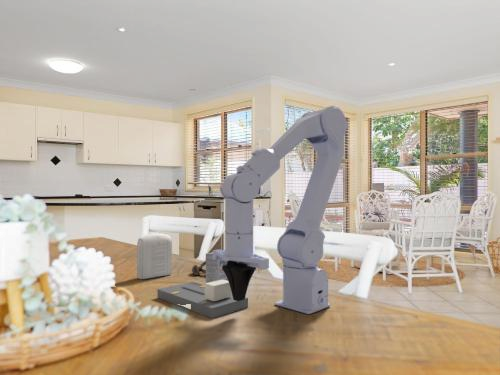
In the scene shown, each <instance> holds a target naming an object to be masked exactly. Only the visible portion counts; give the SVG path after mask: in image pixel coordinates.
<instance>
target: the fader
mask: <svg viewBox="0 0 500 375" xmlns="http://www.w3.org/2000/svg"><path fill="white" fill-rule="evenodd" d="M204 285H205V299H208V300H211V301H217V300H221V299H225V298H228V297H232V292H231V288H230V284H229V281H227V280H223V279H222V280H218V281H213V282H209V283H206V282H205V283H204Z"/></svg>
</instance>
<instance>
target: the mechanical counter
mask: <svg viewBox="0 0 500 375" xmlns="http://www.w3.org/2000/svg"><path fill="white" fill-rule="evenodd" d="M204 266H206V260H205V261H203V262H202V263H201V264H200V266H198V265H197V264H194V265H193V267H192V269H191V273H192V274H193V275H194V276H200V273H201V272H202V273H203V274H206V269H204Z"/></svg>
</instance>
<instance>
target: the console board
mask: <svg viewBox="0 0 500 375" xmlns="http://www.w3.org/2000/svg"><path fill="white" fill-rule="evenodd" d="M156 290H157V292H156V293H157V296H156V297H157V299H160V300H162V301H166V302H168V303H171V304H172V305H173V304H174V305H176V304H180V305H186V304H191V310H190V311H192V312H194V313H197V314H200V315H202V316H206V317H207V318H210V319H215V318H217V317H220V316H224V315H227V314H230V313H233V312H237V311H241V310H243V309H246V308H249V297H246V296H245V299H244V300H241V301H236V300H233V296H232V297H228V298H225V299H221V300H217V301H211V300H208V299H205V284H202V283H199V282H193V281H189V282H185V283H179V284H176V285H175V284H174V285H169V286H165V287H161V288H157V289H156Z"/></svg>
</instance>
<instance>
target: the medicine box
mask: <svg viewBox="0 0 500 375" xmlns="http://www.w3.org/2000/svg"><path fill="white" fill-rule="evenodd" d="M205 261H206V265H205V270H206V273H205V283H209V282H213V281H218V280H222V279H223V280H227V281H228V279H227V277H226V275H225V273H224V271H223V270H222V266H223V265H227V261H222V260H213V251H212V252H207V253H205Z"/></svg>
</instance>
